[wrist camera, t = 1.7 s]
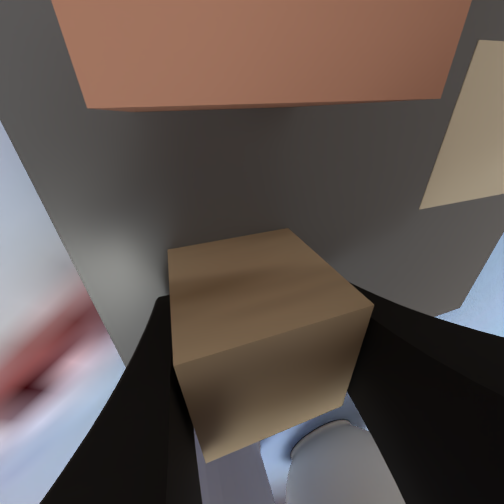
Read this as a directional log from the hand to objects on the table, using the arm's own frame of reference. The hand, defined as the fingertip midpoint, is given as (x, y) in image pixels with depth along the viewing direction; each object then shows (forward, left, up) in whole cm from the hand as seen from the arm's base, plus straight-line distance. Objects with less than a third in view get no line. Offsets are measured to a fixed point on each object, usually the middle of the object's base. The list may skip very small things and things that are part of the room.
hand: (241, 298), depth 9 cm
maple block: (0, 0, -1) cm, 1 cm away
